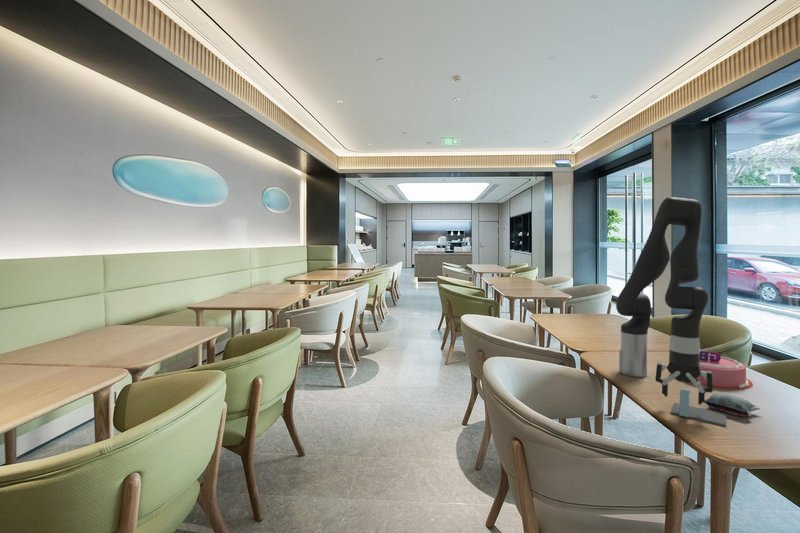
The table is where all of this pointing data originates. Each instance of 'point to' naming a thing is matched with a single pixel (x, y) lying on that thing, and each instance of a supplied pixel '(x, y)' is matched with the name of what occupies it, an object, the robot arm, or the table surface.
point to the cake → (723, 371)
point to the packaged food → (730, 404)
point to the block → (684, 402)
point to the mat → (702, 415)
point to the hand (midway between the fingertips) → (682, 399)
